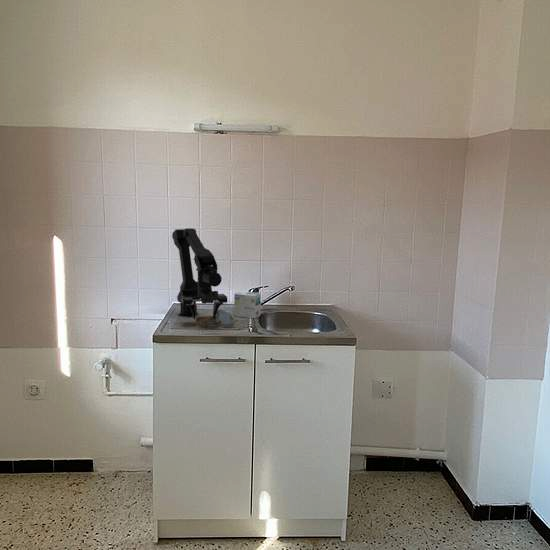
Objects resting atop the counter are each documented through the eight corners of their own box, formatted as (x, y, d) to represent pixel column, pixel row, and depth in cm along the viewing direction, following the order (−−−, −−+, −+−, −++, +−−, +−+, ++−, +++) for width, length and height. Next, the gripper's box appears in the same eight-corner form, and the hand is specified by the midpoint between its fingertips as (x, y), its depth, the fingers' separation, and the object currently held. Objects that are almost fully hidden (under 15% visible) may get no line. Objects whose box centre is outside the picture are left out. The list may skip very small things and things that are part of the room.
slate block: (218, 324, 205) (219, 312, 205) (215, 321, 210) (216, 310, 209) (230, 323, 207) (230, 312, 206) (227, 320, 212) (227, 309, 211)
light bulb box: (260, 315, 223) (261, 292, 221) (255, 319, 216) (256, 295, 214) (239, 313, 226) (239, 290, 224) (233, 316, 220) (233, 293, 218)
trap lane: (202, 329, 197) (202, 324, 197) (195, 321, 209) (195, 316, 209) (240, 327, 202) (240, 322, 202) (231, 319, 215) (231, 314, 214)
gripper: (185, 286, 192) (185, 325, 195) (230, 285, 199) (230, 322, 201) (181, 282, 203) (181, 318, 205) (224, 280, 209) (224, 316, 211)
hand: (204, 318), depth 205 cm, fingers open, 8 cm apart
